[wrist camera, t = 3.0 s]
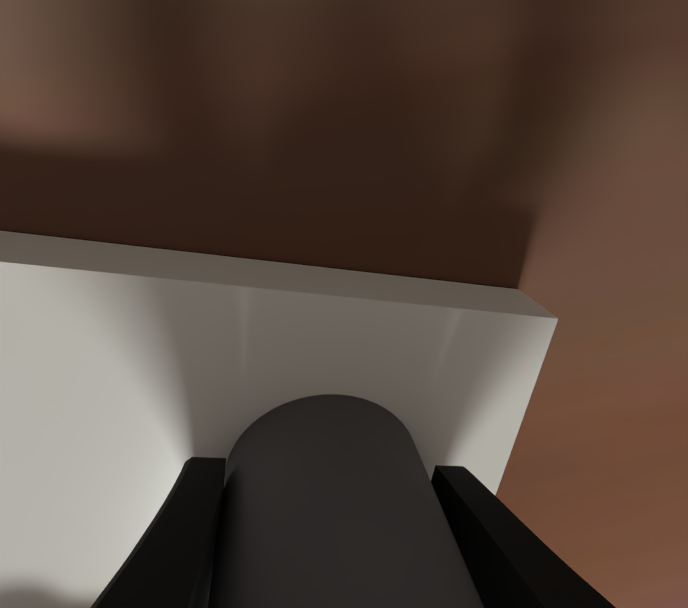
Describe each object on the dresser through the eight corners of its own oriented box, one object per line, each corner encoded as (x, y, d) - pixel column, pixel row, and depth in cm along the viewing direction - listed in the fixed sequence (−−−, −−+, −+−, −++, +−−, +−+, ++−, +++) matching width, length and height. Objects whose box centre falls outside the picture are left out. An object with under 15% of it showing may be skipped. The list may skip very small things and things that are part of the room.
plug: (396, 547, 11) (480, 843, 7) (217, 547, 10) (177, 882, 6) (436, 400, 9) (578, 654, 5) (232, 387, 9) (193, 671, 4)
